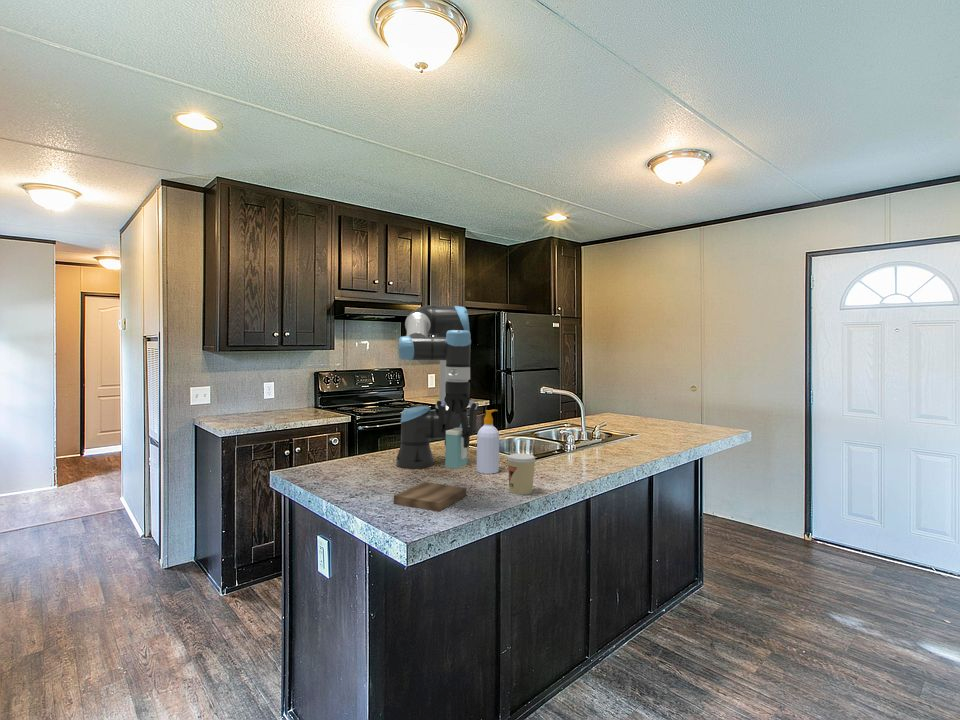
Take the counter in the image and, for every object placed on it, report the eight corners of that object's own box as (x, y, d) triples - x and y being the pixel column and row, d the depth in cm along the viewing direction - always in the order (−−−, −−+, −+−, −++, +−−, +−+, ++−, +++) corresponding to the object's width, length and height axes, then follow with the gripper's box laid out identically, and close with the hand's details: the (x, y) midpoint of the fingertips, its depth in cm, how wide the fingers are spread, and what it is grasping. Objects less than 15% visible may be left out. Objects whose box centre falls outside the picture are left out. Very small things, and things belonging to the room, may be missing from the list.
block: (445, 467, 156) (445, 430, 156) (455, 462, 162) (456, 427, 162) (457, 468, 154) (457, 431, 154) (467, 464, 160) (467, 428, 160)
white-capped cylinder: (505, 487, 178) (505, 453, 178) (531, 487, 179) (532, 453, 179) (508, 495, 169) (509, 459, 169) (537, 495, 170) (537, 459, 170)
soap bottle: (504, 471, 202) (505, 410, 201) (488, 475, 195) (489, 412, 194) (488, 467, 208) (489, 408, 207) (471, 471, 201) (472, 410, 200)
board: (393, 503, 159) (393, 495, 159) (424, 489, 175) (424, 481, 175) (438, 511, 152) (439, 503, 152) (466, 495, 168) (466, 488, 168)
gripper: (427, 380, 158) (426, 456, 158) (478, 382, 151) (477, 462, 151) (439, 379, 164) (438, 452, 165) (488, 381, 157) (487, 457, 158)
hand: (456, 457), depth 158 cm, fingers closed on block, 4 cm apart
